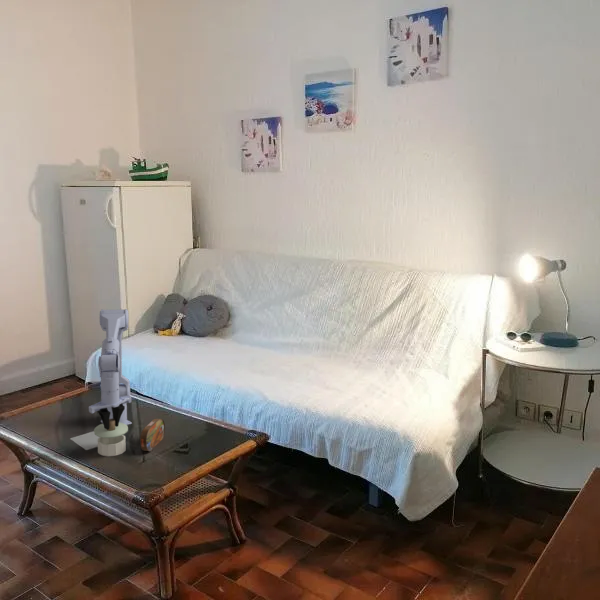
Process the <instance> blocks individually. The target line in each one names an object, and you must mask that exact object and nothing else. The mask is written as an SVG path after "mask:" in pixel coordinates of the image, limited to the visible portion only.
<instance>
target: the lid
mask: <svg viewBox="0 0 600 600" xmlns="http://www.w3.org/2000/svg"><path fill="white" fill-rule="evenodd" d="M128 426H129V425H126V424H124V423H120V422H119V425H118V427H116V426H115V419H109V429H108V430H107V429H105V428H104V425H103V423H101V424H98V425H96V427H94V428H93V431H94V434H95V435H96V436H98V437H102V438H115V437H119V436H122V435H124V436H125V434H127V433H128V432H129V427H128Z"/></svg>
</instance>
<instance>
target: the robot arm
mask: <svg viewBox="0 0 600 600" xmlns="http://www.w3.org/2000/svg"><path fill="white" fill-rule="evenodd" d="M99 325H100V328H101V329H102V331H103V332H105V338H104V340H103V341H102V343H101V344H102V345H101V352H100V356H99V357H98V360H97V361H98V362H97V363H98V364H97V365H98V366H97V367H98V371H99V378H100V393H101V394H100V397H101V398H100V399H101V400H100V401H99V402H96V403H94V404H92V405H89V406H88V412H89V413H90V414H94V413H96V412H97V414H98V415H99V417H100V419H101V420H100V422H101V424H103V425H104V428H105V429H107V430H108V429H109V419H115V426H116V427H118V425H119V422H120V423H124V424H126V425H127V426H129V425H131V424H133V423H132V422H131V421H130V420H128V406H127V404H131V403H132V396H131V382H130V380H129V379H128V378H127V377H126V376H124V375H123V361H122V359H123V356H122V355H123V350H122V348H123V346H122V344H123V343H122V336H123V334H124V332H126V331H128V329H129V310H128V309H127V308H125V309H100V311H99Z"/></svg>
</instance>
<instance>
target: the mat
mask: <svg viewBox="0 0 600 600" xmlns="http://www.w3.org/2000/svg"><path fill="white" fill-rule="evenodd" d="M98 438H100V437H98V436H96V435H95V434H94V430H93V431H90V432H87V433H84V434H80V435H77V436H73V437H71V438H69V440H71V441H72V442H73V443H75V444H77V446H80V447H81V448H82V449H84V450H85V451H88V450H92V449H95V448H98Z"/></svg>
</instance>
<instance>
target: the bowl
mask: <svg viewBox="0 0 600 600" xmlns="http://www.w3.org/2000/svg"><path fill="white" fill-rule="evenodd" d="M126 442H127V441H126V435H125V434H124V435H122V436H119V437H115V438H102V437H100V438H98V447H97V454H99V455H101V456H104V457H114V456H119V455H121V454H123V453H125V452H126V450H127V448H126V447H127V446H126V445H127V444H126Z"/></svg>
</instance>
